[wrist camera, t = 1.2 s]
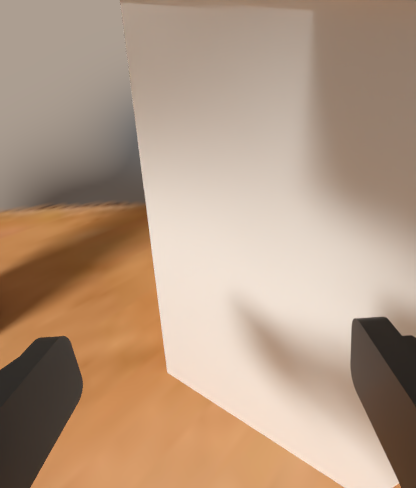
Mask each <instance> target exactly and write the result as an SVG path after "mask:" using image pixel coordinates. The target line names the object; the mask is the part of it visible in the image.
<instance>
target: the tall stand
mask: <svg viewBox="0 0 416 488" xmlns="http://www.w3.org/2000/svg"><path fill="white" fill-rule="evenodd" d="M120 5H121V13H122V21H123V29H124V36H125V44H126V52H127V60H128V68H129V74H130V75H129V76H130V83H131V91H132V99H133V106H134V115H135V122H136V130H137V138H138V146H139V154H140V162H141V170H142V178H143V185H144V193H145V201H146V209H147V217H148V225H149V232H150V240H151V248H152V256H153V264H154V272H155V279H156V287H157V295H158V303H159V311H160V319H161V326H162V334H163V342H164V350H165V358H166V366H167V373H169V374H170V375H172V376H173V377H175V378H176V379H178V380H180V381H181V382H183V383H184V384H186V385H187V386H189V387H190V388H192V389H193V390H195V391H196V392H198V393H200V394H201V395H203V396H204V397H206V398H207V399H209V400H210V401H212V402H213V403H215V404H217V405H218V406H220V407H221V408H223V409H224V410H226V411H227V412H229V413H230V414H232V415H233V416H235V417H237V418H238V419H240V420H241V421H243V422H244V423H246V424H247V425H249V426H250V427H252V428H254V429H255V430H257V431H258V432H260V433H261V434H263V435H264V436H266V437H267V438H269V439H271V440H272V441H274V442H275V443H277V444H278V445H280V446H281V447H283V448H284V449H286V450H287V451H289V452H291V453H292V454H294V455H295V456H297V457H298V458H300V459H301V460H303V461H304V462H306V463H308V464H309V465H311V466H312V467H314V468H315V469H317V470H318V471H320V472H321V473H323V474H324V475H326V476H328V477H329V478H331V479H332V480H334V481H335V482H337V483H338V484H340V485H341V486H343V487H345V488H393V487H394V486H396V485H397V484H399V481H398V479H397V477H396V475H395V473H394V471H393V469H392V466H391V464H390V462H389V460H388V458H387V456H386V454H385V452H384V450H383V447H382V445H381V443H380V441H379V439H378V437H377V435H376V433H375V430H374V428H373V426H372V424H371V422H370V420H369V418H368V416H367V414H366V411H365V409H364V407H363V405H362V403H361V401H360V399H359V397H358V395H357V392H356V390H355V387H354V384H353V381H352V376H351V369H350V359H351V328H352V321H353V319H354V318H369V317H386V318H388V319H389V321H390V322H391V323H392V324H393V325H394V327H395V328H396V329H397V330H398V332H399V333H400V334H401V335H402V336H406V335H412V336H414V337H416V0H120Z"/></svg>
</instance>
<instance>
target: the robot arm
mask: <svg viewBox="0 0 416 488" xmlns="http://www.w3.org/2000/svg"><path fill="white" fill-rule="evenodd" d="M350 369H351V376H352V381H353V384H354V387H355V390H356V392H357V395H358V397H359V399H360V401H361V403H362V405H363V407H364V409H365V411H366V414H367V416H368V418H369V420H370V422H371V424H372V426H373V428H374V430H375V433H376V435H377V437H378V439H379V441H380V443H381V445H382V447H383V450H384V452H385V454H386V456H387V458H388V460H389V462H390V464H391V466H392V469H393V471H394V473H395V475H396V477H397V479H398V481H399V483H400V485H401V488H416V337H414V336H412V335H406V336H402V335H401V334H400V333H399V332H398V330H397V329H396V328H395V327H394V325H393V324H392V323H391V322H390V321H389V319H388V318H386V317H369V318H354V319H353V321H352V328H351V359H350ZM82 388H83V381H82V376H81V373H80V370H79V367H78V364H77V361H76V357H75V354H74V351H73V348H72V345H71V342H70V340H69V339H68V338H67V337H65V336H59V337H44V338H38V339H36V340H35V341H34V342H33V343H32V344H31V345H30V346H29V347H28V348H27V349H26V350H25V351H24V352H23V353H22V355H21V356H20V357H18V358H17V359H15V360H14V361H13V362H11V363H10V364H8V365H7V366H5V367H4V368H2V369H1V370H0V488H30V487H31V485H32V483H33V482H34V480H35V478H36V476H37V474H38V473H39V471H40V469H41V467H42V466H43V464H44V462H45V460H46V459H47V457H48V455H49V453H50V451H51V450H52V448H53V446H54V444H55V443H56V441H57V439H58V437H59V436H60V434H61V432H62V430H63V428H64V427H65V425H66V423H67V421H68V420H69V418H70V416H71V414H72V413H73V411H74V409H75V407H76V405H77V404H78V402H79V400H80V397H81V394H82Z"/></svg>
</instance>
